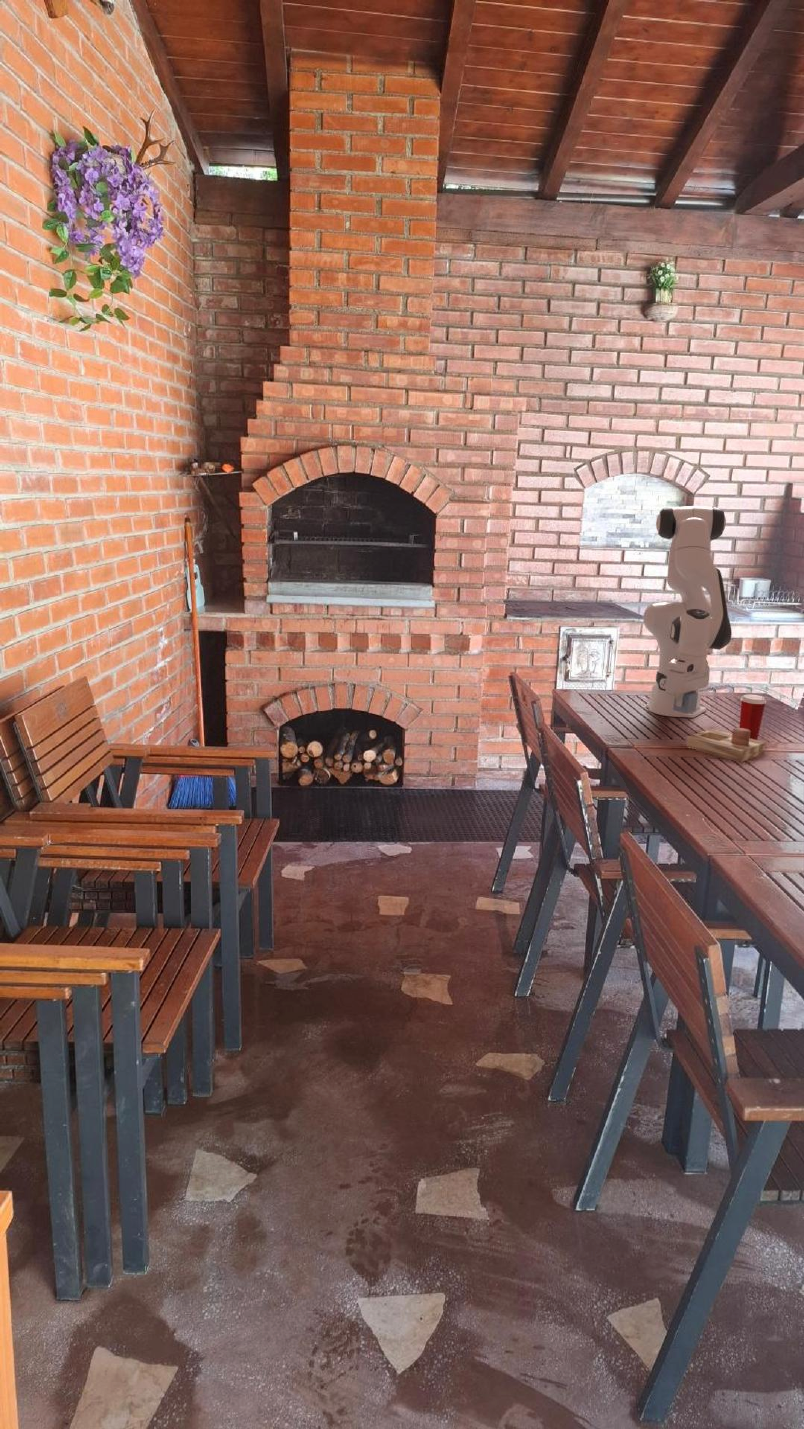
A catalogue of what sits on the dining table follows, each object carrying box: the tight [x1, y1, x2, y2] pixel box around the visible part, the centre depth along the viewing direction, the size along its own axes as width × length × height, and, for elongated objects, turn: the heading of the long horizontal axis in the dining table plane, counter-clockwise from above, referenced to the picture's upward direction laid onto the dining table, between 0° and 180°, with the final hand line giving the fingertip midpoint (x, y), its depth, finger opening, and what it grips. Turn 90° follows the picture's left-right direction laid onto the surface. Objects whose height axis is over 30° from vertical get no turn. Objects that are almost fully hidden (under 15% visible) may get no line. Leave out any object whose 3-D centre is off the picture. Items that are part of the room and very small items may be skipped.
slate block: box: [673, 691, 698, 714], centre depth 288 cm, size 5×5×6 cm
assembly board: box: [685, 727, 766, 763], centre depth 279 cm, size 15×18×8 cm
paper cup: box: [738, 694, 767, 740], centre depth 292 cm, size 8×8×14 cm
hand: (685, 704), depth 289 cm, fingers closed on slate block, 5 cm apart
